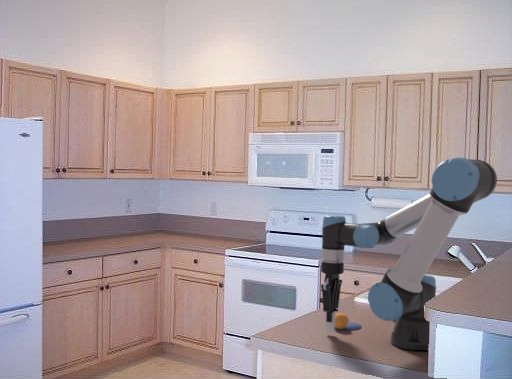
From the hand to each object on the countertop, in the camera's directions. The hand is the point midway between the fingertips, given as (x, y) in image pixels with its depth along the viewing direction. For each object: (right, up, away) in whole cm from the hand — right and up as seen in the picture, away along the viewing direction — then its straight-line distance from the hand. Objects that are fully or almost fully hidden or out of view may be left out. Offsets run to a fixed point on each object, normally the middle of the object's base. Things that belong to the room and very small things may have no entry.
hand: (330, 330), depth 191 cm
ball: (+5, +1, +8) cm, 9 cm away
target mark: (+7, -1, +12) cm, 14 cm away
